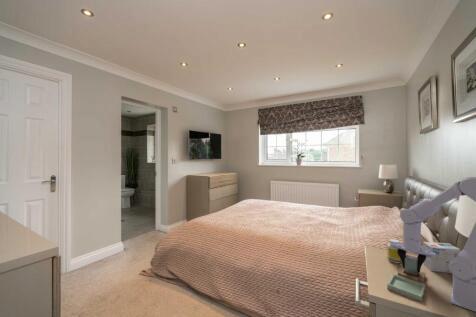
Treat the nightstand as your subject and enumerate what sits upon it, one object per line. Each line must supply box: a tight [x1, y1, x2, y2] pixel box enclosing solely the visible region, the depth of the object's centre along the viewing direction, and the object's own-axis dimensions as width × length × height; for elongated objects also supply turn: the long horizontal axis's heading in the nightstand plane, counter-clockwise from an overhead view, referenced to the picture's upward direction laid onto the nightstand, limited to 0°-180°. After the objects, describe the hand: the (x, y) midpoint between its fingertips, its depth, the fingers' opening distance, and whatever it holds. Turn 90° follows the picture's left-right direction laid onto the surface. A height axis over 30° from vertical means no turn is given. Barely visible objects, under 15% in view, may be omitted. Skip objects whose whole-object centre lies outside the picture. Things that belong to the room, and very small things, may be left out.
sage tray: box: [386, 273, 426, 303], centre depth 82 cm, size 10×10×2 cm
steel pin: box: [405, 254, 419, 278], centre depth 90 cm, size 4×4×8 cm
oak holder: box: [397, 265, 426, 284], centre depth 90 cm, size 8×8×2 cm
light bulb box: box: [422, 241, 461, 274], centre depth 96 cm, size 11×7×11 cm, turn 77°
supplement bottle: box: [386, 238, 402, 264], centre depth 103 cm, size 5×5×10 cm
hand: (411, 269), depth 90 cm, fingers closed on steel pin, 4 cm apart
